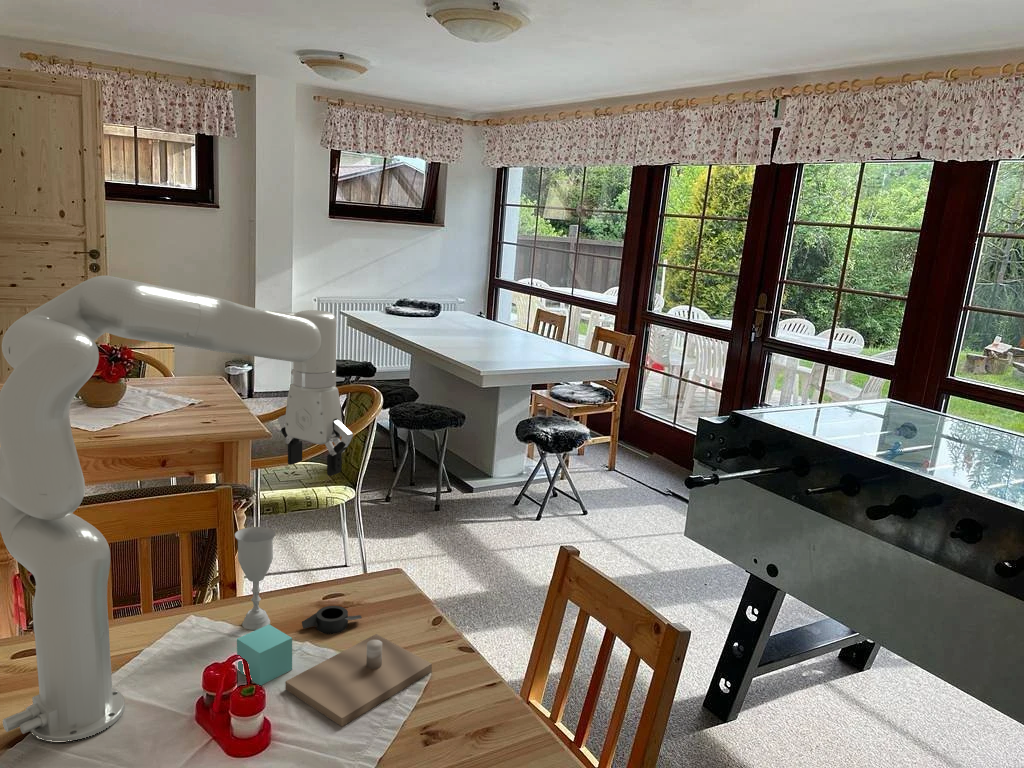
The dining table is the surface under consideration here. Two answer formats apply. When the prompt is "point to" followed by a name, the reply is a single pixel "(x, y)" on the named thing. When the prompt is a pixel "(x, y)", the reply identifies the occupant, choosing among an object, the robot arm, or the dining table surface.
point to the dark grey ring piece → (330, 620)
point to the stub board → (358, 679)
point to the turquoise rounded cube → (265, 653)
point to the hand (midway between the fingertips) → (314, 468)
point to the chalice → (255, 568)
